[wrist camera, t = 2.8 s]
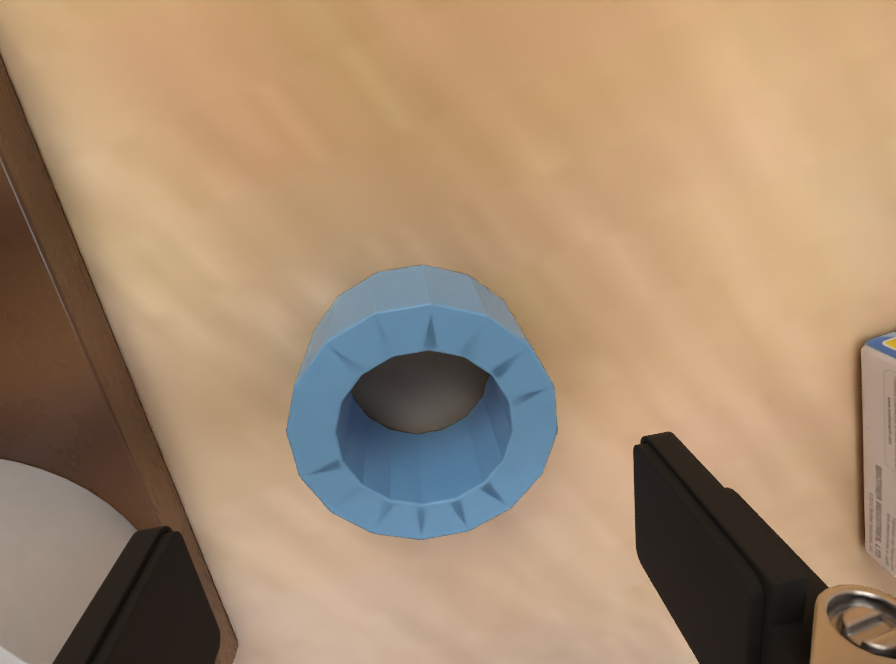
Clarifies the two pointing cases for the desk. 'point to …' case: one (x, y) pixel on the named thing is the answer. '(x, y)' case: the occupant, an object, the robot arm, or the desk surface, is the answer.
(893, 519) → the ink cartridge box
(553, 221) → the desk surface
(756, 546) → the robot arm
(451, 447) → the tape roll
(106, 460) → the tape stand
